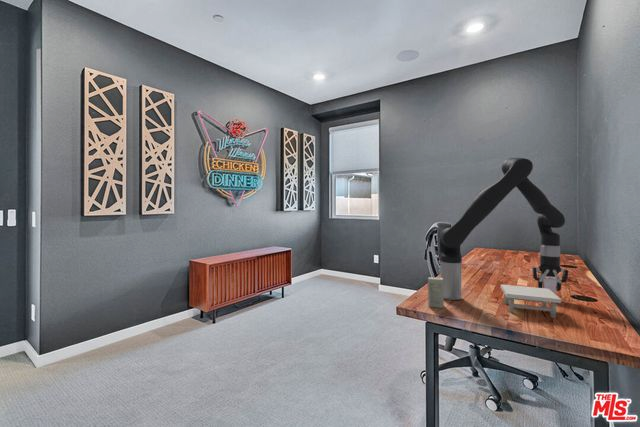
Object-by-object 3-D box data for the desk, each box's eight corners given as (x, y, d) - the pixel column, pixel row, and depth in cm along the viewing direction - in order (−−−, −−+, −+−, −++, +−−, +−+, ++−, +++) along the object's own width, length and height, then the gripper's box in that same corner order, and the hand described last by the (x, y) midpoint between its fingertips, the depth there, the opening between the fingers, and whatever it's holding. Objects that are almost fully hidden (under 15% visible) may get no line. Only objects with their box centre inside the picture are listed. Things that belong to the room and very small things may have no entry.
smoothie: (543, 299, 142) (543, 269, 141) (539, 295, 148) (539, 267, 147) (559, 301, 139) (560, 271, 139) (555, 297, 145) (555, 268, 145)
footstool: (506, 313, 124) (506, 293, 123) (500, 301, 138) (500, 284, 138) (560, 319, 116) (561, 299, 116) (548, 307, 131) (548, 288, 131)
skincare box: (443, 305, 133) (444, 277, 133) (443, 308, 129) (443, 280, 129) (428, 303, 136) (428, 276, 135) (427, 306, 132) (427, 278, 131)
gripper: (533, 254, 142) (533, 290, 143) (572, 257, 137) (571, 294, 137) (529, 252, 149) (529, 286, 150) (566, 254, 143) (565, 289, 144)
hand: (549, 289), depth 143 cm, fingers closed on smoothie, 6 cm apart
